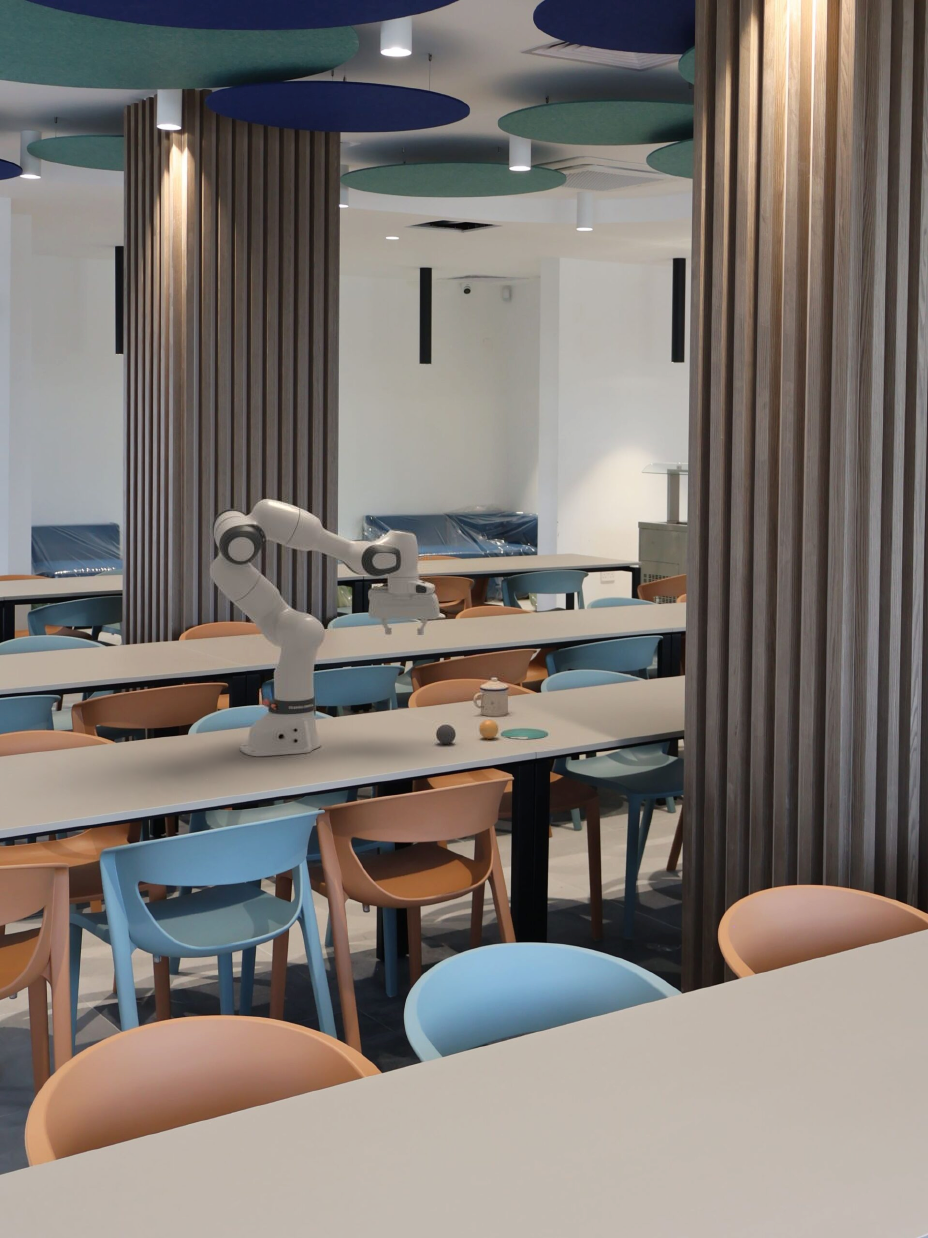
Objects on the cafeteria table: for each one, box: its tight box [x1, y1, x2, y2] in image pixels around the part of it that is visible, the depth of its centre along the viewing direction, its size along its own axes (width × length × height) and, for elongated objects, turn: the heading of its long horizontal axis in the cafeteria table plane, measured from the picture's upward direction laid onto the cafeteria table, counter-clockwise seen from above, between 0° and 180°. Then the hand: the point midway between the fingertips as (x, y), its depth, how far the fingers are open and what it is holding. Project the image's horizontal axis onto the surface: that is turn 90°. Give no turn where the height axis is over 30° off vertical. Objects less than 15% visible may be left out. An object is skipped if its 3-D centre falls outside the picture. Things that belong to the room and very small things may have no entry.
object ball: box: [478, 719, 499, 740], centre depth 371 cm, size 6×6×6 cm
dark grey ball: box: [435, 724, 457, 745], centre depth 364 cm, size 6×6×6 cm
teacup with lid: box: [473, 677, 509, 718], centre depth 404 cm, size 12×9×12 cm
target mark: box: [500, 727, 549, 740], centre depth 376 cm, size 14×14×1 cm
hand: (404, 634), depth 363 cm, fingers open, 8 cm apart
